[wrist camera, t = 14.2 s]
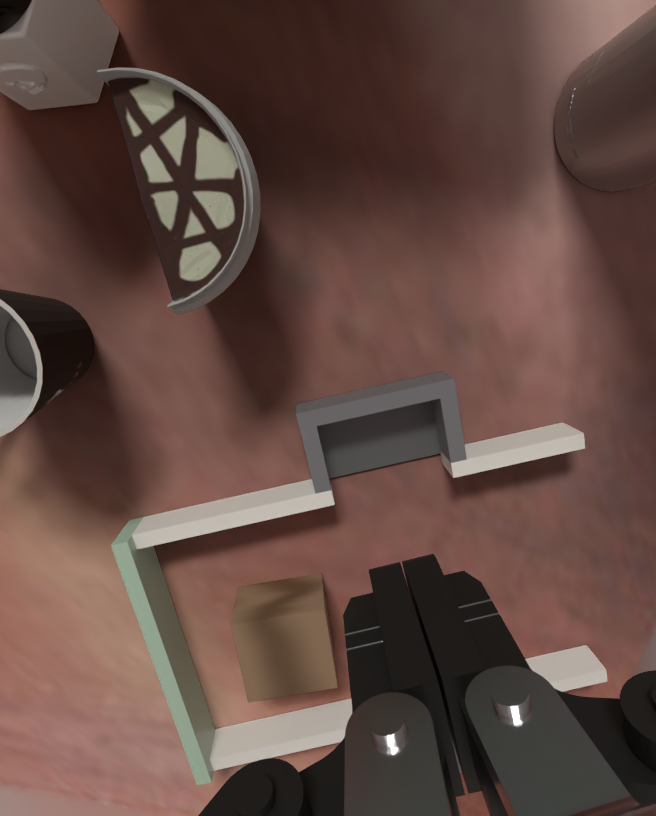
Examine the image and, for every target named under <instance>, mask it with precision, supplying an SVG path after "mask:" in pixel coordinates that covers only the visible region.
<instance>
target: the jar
mask: <svg viewBox="0 0 656 816" xmlns="http://www.w3.org/2000/svg"><path fill="white" fill-rule="evenodd" d="M118 34H119V29H118V27H117V25H116V24H115V22H114V21H113V19H112V18H111V17H110V15H109V14H108V12H107V11H106V9H105V8H104V7H103V5H102V4H101V2H100V1H99V0H0V92H1V93H2V94H4V95H5V96H7V97H8V98H10V99H12V100H13V101H15V102H16V103H18V104H19V105H21V106H22V107H24V108H26V109H27V110H38V109H47V108H56V107H65V106H74V105H83V104H92V103H97V102H98V101H99V98H100V95H101V91H102V88H103V85H104V80H103V79H102V78H101V76H100V75H99V74H98V73H97V70H102V69H108V68H109V65H110V61H111V58H112V55H113V51H114V48H115V45H116V41H117V38H118Z"/></svg>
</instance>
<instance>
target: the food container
mask: <svg viewBox="0 0 656 816" xmlns="http://www.w3.org/2000/svg"><path fill="white" fill-rule="evenodd" d="M97 73H98V74H99V75H100V76H101V78H102V79H103V80H104V81H105V83H106V84H107V85H108V86H109V89H110V92H111V97H112V100H113V103H114V105H115V108H116V111H117V114H118V117H119V120H120V124H121V127H122V131H123V134H124V138H125V141H126V145H127V148H128V152H129V156H130V159H131V163H132V166H133V170H134V174H135V178H136V182H137V185H138V189H139V193H140V197H141V200H142V203H143V206H144V209H145V212H146V215H147V218H148V221H149V224H150V227H151V230H152V234H153V237H154V240H155V243H156V246H157V250H158V253H159V256H160V260H161V263H162V266H163V270H164V273H165V277H166V280H167V283H168V286H169V290H170V293H171V296H172V300H173V302H171V303H170V304H169V305H167V306H168V307H171V309H172V311H173V312H175V313H177V314H179V315H180V314H183V313H186V312H189V311H192V310H195V309H197V308H199V307H201V306H203V305H205V304H207V303H209V302H210V301H212V300H213V299H214V298H216V297H217V296H218V295H220V294H221V293H222V292H224V291H225V290H226V289H227V288H228V287H229V286H230V284H231V283H232V282H233V281H234V280H235V279H236V278H237V276H238V275H239V274H240V272H241V271H242V269H243V268H244V266H245V265H246V263H247V261H248V258H249V256H250V254H251V252H252V250H253V247H254V244H255V241H256V237H257V234H258V229H259V222H260V214H261V207H260V190H259V184H258V178H257V173H256V170H255V167H254V164H253V161H252V158H251V155H250V153H249V151H248V149H247V147H246V145H245V143H244V141H243V139H242V137H241V136H240V135H239V133H238V132H237V130H236V129H235V127H234V126H233V124H232V123H231V122H230V121H229V119H228V118H227V117H226V116H225V115H224V114H223V113H222V112H221V111H220V110H219V109H218V108H217V107H216V106H215V105H214V104H213V103H211V102H210V101H209V100H208V99H206V98H205V97H204V96H203V95H201V94H200V93H198V92H196V91H195V90H193V89H191V88H190V87H188V86H186V85H184V84H183V83H181V82H179V81H178V80H176V79H173V78H171V77H168V76H166V75H163V74H160V73H158V72H154V71H149V70H144V69H139V68H121V67H118V68H110V69H102V70H97Z"/></svg>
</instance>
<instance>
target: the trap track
mask: <svg viewBox="0 0 656 816" xmlns="http://www.w3.org/2000/svg"><path fill="white" fill-rule="evenodd" d="M296 415H297V419H298V424H299V428H300V432H301V436H302V440H303V444H304V448H305V453H306V457H307V461H308V465H309V469H310V473H311V477H312V479H310V480H305V481H301V482H296V483H292V484H287V485H283V486H279V487H274V488H270V489H265V490H261V491H256V492H252V493H248V494H243V495H239V496H234V497H230V498H225V499H221V500H217V501H212V502H208V503H203V504H199V505H194V506H190V507H185V508H181V509H177V510H172V511H168V512H163V513H159V514H154V515H150V516H146V517H141V518H137V519H132V520H129V521H128V522H127V524H126V525H125V527H124V528H123V529H122V531H121V532H120V533H119V535H118V536H117V538H116V539H115V540H114V542H113V543H112V545H111V548H112V550H113V553H114V556H115V559H116V561H117V564H118V567H119V570H120V573H121V575H122V578H123V581H124V584H125V586H126V589H127V592H128V595H129V597H130V600H131V603H132V606H133V609H134V611H135V614H136V617H137V620H138V622H139V625H140V628H141V631H142V634H143V636H144V639H145V642H146V645H147V647H148V650H149V653H150V656H151V658H152V661H153V664H154V667H155V670H156V672H157V675H158V678H159V681H160V683H161V686H162V689H163V692H164V695H165V697H166V700H167V703H168V706H169V708H170V711H171V714H172V717H173V720H174V722H175V725H176V728H177V731H178V733H179V736H180V739H181V742H182V744H183V747H184V750H185V753H186V756H187V758H188V761H189V764H190V767H191V769H192V772H193V775H194V778H195V781H196V783H197V785H201V784H206V783H210V782H212V776H213V771H215V770H219V769H224V768H228V767H232V766H237V765H241V764H246V763H250V762H255V761H258V760H262V759H268V758H272V757H277V756H281V755H285V754H290V753H294V752H299V751H303V750H307V749H312V748H316V747H321V746H325V745H329V744H334V743H338V742H341V741H342V740H343V739H344V737H345V731H346V726H347V723H348V720H349V718H350V716H351V715H352V700H351V698H350V699H346V700H342V701H337V702H333V703H328V704H324V705H319V706H315V707H311V708H306V709H302V710H297V711H293V712H289V713H284V714H280V715H275V716H271V717H267V718H262V719H258V720H253V721H249V722H244V723H240V724H236V725H231V726H227V727H222V728H218V729H215V726H214V724H213V721H212V718H211V715H210V712H209V709H208V706H207V703H206V700H205V697H204V694H203V691H202V688H201V685H200V682H199V679H198V676H197V673H196V670H195V667H194V664H193V661H192V658H191V655H190V652H189V649H188V646H187V643H186V640H185V638H184V635H183V632H182V629H181V626H180V623H179V620H178V617H177V614H176V611H175V608H174V605H173V602H172V599H171V596H170V593H169V590H168V587H167V584H166V581H165V578H164V575H163V572H162V569H161V566H160V563H159V560H158V557H157V554H156V551H155V549H154V546H155V545H159V544H163V543H168V542H172V541H177V540H181V539H186V538H190V537H194V536H199V535H203V534H208V533H212V532H217V531H221V530H226V529H230V528H234V527H239V526H243V525H248V524H252V523H257V522H261V521H265V520H270V519H274V518H279V517H283V516H288V515H292V514H296V513H301V512H305V511H310V510H314V509H319V508H323V507H327V506H332V505H335V503H334V497H333V491H332V486H331V482H330V478H334V477H338V476H343V475H347V474H351V473H356V472H360V471H365V470H369V469H374V468H378V467H382V466H387V465H391V464H396V463H400V462H405V461H409V460H413V459H418V458H422V457H427V456H431V455H436V454H440V453H441V459H442V464H443V466H444V467H445V468H446V469H447V471H448V472H449V473H450V474H451V476H452V477H453V478H456V477H460V476H465V475H469V474H474V473H478V472H483V471H487V470H491V469H496V468H500V467H505V466H509V465H514V464H518V463H523V462H527V461H531V460H536V459H540V458H545V457H549V456H554V455H558V454H562V453H567V452H571V451H576V450H580V449H585V441H584V433H582V432H580V431H579V430H577V429H575V428H573V427H571V426H569V425H567V424H565V423H558V424H554V425H549V426H545V427H540V428H536V429H531V430H527V431H523V432H518V433H514V434H509V435H505V436H500V437H496V438H492V439H487V440H483V441H478V442H474V443H469V444H464V438H463V431H462V425H461V419H460V412H459V406H458V400H457V393H456V387H455V381H454V378H453V377H451V376H449V375H448V374H446V373H444V372H443V371H442V372H437V373H433V374H428V375H424V376H419V377H415V378H410V379H406V380H402V381H397V382H393V383H388V384H384V385H379V386H375V387H370V388H366V389H362V390H357V391H353V392H348V393H344V394H339V395H335V396H330V397H326V398H322V399H317V400H313V401H308V402H304V403H299V404H296ZM525 660H526V661H527V663H528V665H529V667H530V668H531V670H532V671H534V672H536V673H538V674H539V675H541V676H542V677H544V678H545V679H546V680H547V681H548V682H549V683H550V684H551V685H552V686H553V688H555V689H557V690H559V691H561V692H563V691H568V690H572V689H576V688H581V687H585V686H590V685H594V684H598V683H603V682H607V673H606V669H605V668H604V666H603V665H602V664H601V663H600V661H599V660H598V659H597V658H596V656H595V655H594V654H593V653H592V651H591V650H590V649H589V648H588V646H587V645H584V646H580V647H575V648H571V649H567V650H562V651H558V652H553V653H549V654H545V655H540V656H536V657H531V658H527V659H525ZM453 747H454V745H453ZM454 751H455V748H454ZM455 755H456V759H457V764H458V768H459V772H460V774H462V771H461V767H460V764H459V761H458V758H457V754H456V751H455Z"/></svg>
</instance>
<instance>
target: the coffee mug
mask: <svg viewBox="0 0 656 816" xmlns="http://www.w3.org/2000/svg"><path fill="white" fill-rule="evenodd" d="M93 355H94V340H93V335H92V333H91V330H90V327H89V326H88V324H87V322H86V321H85V319H84V318H83V317H82V316H81V315H80V313H79V312H77V311H76V310H75V309H74V308H72V307H71V306H69V305H67V304H66V303H64V302H61V301H58V300H55V299H51V298H45V297H40V296H34V295H29V294H23V293H18V292H12V291H7V290H1V289H0V437H1V436H3V435H5V434H7V433H9V432H11V431H13V430H14V429H15V428H17V427H18V426H19V425H20V424H22V423H23V422H24V421H26V420H27V419H28V418H29V417H31V416H32V415H33V414H34V413H36V412H37V411H38V410H39V409H41V408H42V407H43V406H45V405H46V404H47V403H48V402H50V401H51V400H52V399H53V398H55V397H56V396H57V395H58V394H60V393H61V392H62V391H63V390H65V389H66V388H67V387H69V386H70V385H71V384H72V383H74V382H75V381H76V380H77V379H79V378H80V377H81V376H82V375H83V374H84V373H85V372H86V371H87V370H88V368H89V366H90V364H91V362H92V359H93Z"/></svg>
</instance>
